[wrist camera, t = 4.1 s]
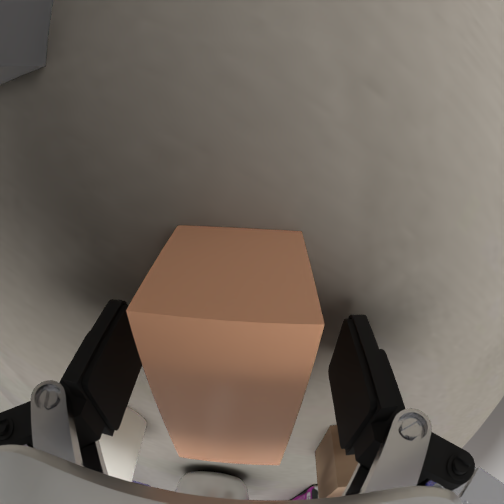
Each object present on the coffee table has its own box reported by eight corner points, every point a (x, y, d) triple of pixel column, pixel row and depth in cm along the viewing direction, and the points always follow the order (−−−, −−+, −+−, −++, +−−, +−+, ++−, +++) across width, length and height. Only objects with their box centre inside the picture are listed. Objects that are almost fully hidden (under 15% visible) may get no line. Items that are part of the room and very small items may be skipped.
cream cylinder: (84, 393, 15) (58, 453, 11) (138, 406, 15) (117, 475, 11) (103, 422, 17) (85, 475, 13) (152, 434, 17) (137, 492, 13)
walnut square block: (330, 424, 15) (337, 487, 11) (393, 417, 15) (408, 474, 11) (315, 451, 18) (318, 503, 14) (370, 445, 17) (379, 494, 14)
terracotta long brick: (178, 223, 10) (126, 310, 6) (301, 229, 9) (324, 324, 6) (196, 376, 13) (179, 456, 9) (278, 382, 13) (279, 464, 9)
